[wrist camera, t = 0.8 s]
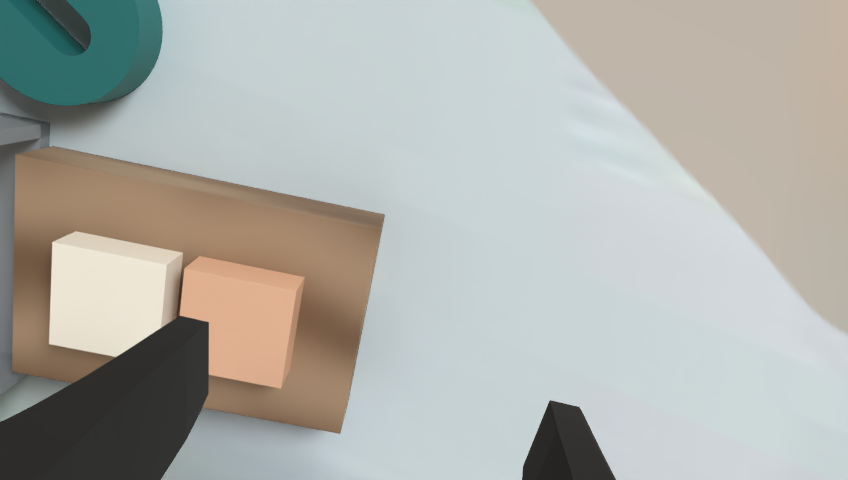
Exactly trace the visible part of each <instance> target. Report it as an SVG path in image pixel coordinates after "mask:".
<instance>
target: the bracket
mask: <svg viewBox="0 0 848 480" xmlns="http://www.w3.org/2000/svg"><path fill="white" fill-rule="evenodd" d="M66 1H67V2H68V3H69V4H70V5H71V6H72V7H73V8H74V9H75V10H76V11H77V12H78V13H79V14H80V15H81V16H82V17H83V18H84V20H85V21H86V22H87V24H88V26H89V29H90V32H91V41H90V44H89V47H88V48H87V50H85V49H84V48H83V47H82V46H81V45H80V44H79V43H78V42H77V41H76V40H75V39H74V38H73V37H72V36H71V35H70V34H69V33H68V32H67V31H66V30H65V29H64V28H63V27H62V26H61V25H60V24H59V23H58V22H57V21H56V20H55V19H54V18H53V17H52V16H51V15H50V14H49V13H48V12H47V11H46V10H45V9H44V8H43V6H42V5H41V4H40V3H39V2H38V1H37V0H0V78H1V79H2V80H3V81H5V82H6V83H7V84H8V85H10V86H11V87H12V88H14V89H15V90H17V91H19V92H20V93H22V94H24V95H26V96H28V97H30V98H32V99H35V100H38V101H40V102H44V103H48V104H54V105H65V106H70V105H81V104H90V103H100V102H107V101H112V100H115V99H118V98H121V97H123V96H125V95H127V94H129V93H130V92H132V91H134V90H135V89H136V88H137V87H139V86H140V85H141V84H142V83H143V82H144V81H145V80H146V78H147V77H148V76H149V74H150V73H151V71H152V69H153V68H154V66H155V64H156V61H157V59H158V56H159V53H160V49H161V43H162V18H161V12H160V8H159V4H158V1H157V0H66Z"/></svg>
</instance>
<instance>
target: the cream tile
mask: <svg viewBox="0 0 848 480" xmlns="http://www.w3.org/2000/svg"><path fill="white" fill-rule="evenodd" d="M182 258H183V253H182V252H177V251H172V250H167V249H162V248H157V247H152V246H147V245H142V244H137V243H132V242H127V241H122V240H117V239H112V238H107V237H102V236H97V235H92V234H87V233H82V232H77V231H75V232H73V233H71V234H69V235H67V236H64V237H62V238H60V239H58V240H56V241H54V242H52V269H51V299H50V329H49V344H51V345H56V346H62V347H67V348H72V349H77V350H83V351H88V352H93V353H98V354H103V355H109V356H114V357H117V356H118V355H120V354H122V353H123V352H125V351H126V350H128V349H129V348H131V347H132V346H134V345H136V344H137V343H139V342H140V341H142V340H143V339H145V338H146V337H148V336H149V335H151V334H152V333H154V332H155V331H157V330H159V329H160V328H162V327H163V326H165V325H166V324H168V323H169V322H171V321H173V320H174V319H176V318H177V309H178V299H179V289H180V278H181V268H182Z"/></svg>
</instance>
